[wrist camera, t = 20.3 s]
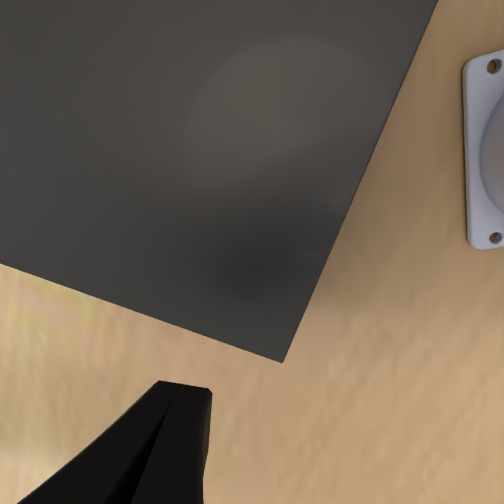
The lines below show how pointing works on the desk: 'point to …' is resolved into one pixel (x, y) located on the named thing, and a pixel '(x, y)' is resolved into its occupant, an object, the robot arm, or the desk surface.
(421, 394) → the desk surface
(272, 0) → the cabinet
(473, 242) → the robot arm
